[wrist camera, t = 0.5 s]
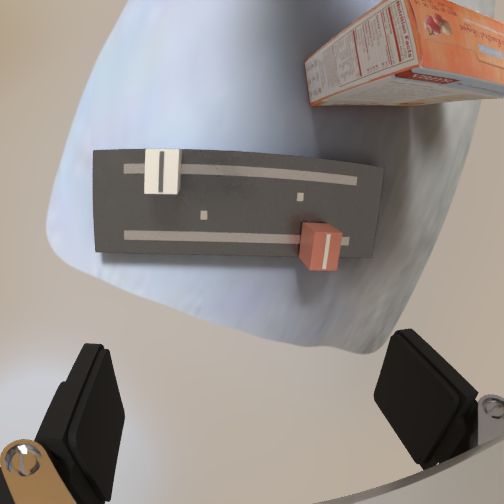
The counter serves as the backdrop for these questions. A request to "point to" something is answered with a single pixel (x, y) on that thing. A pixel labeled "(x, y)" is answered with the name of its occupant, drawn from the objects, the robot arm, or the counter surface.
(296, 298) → the counter surface
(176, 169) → the block
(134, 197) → the console
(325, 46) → the cracker box
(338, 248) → the rust fader
